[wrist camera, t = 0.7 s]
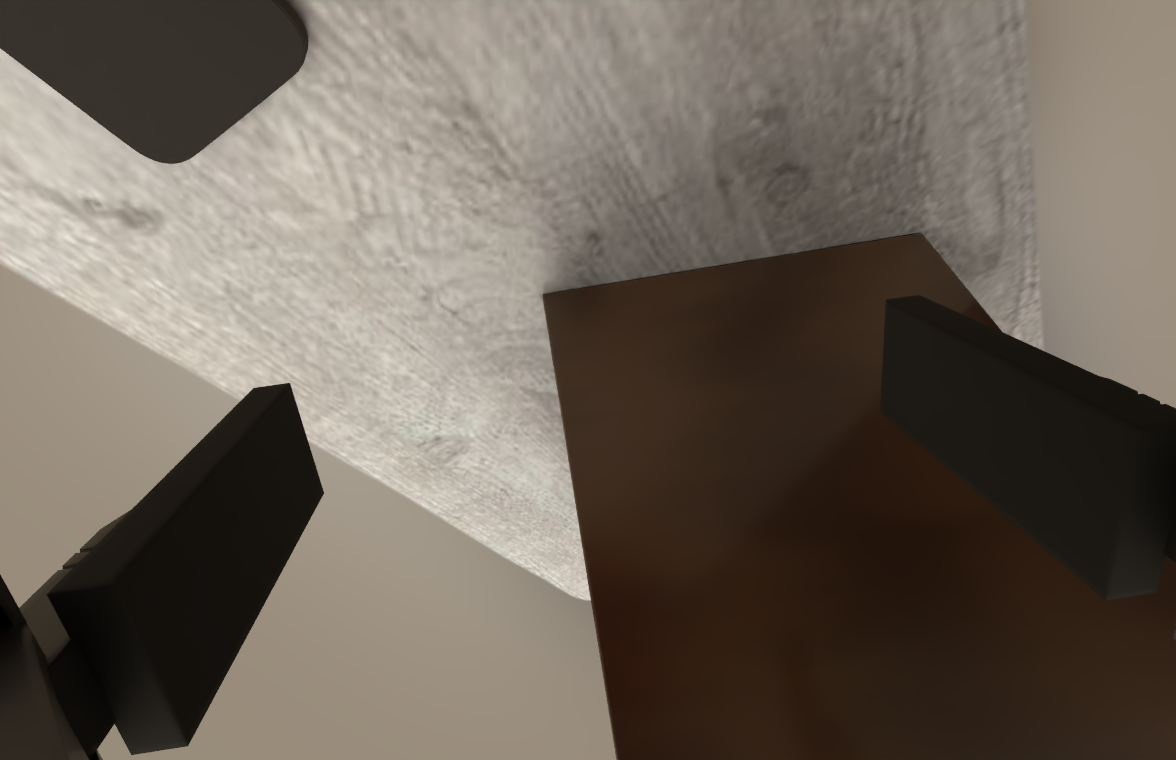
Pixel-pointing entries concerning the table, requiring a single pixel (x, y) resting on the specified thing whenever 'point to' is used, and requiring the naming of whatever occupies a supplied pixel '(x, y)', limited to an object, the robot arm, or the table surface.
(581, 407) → the shelf
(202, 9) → the phone
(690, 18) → the table surface
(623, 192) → the table surface
